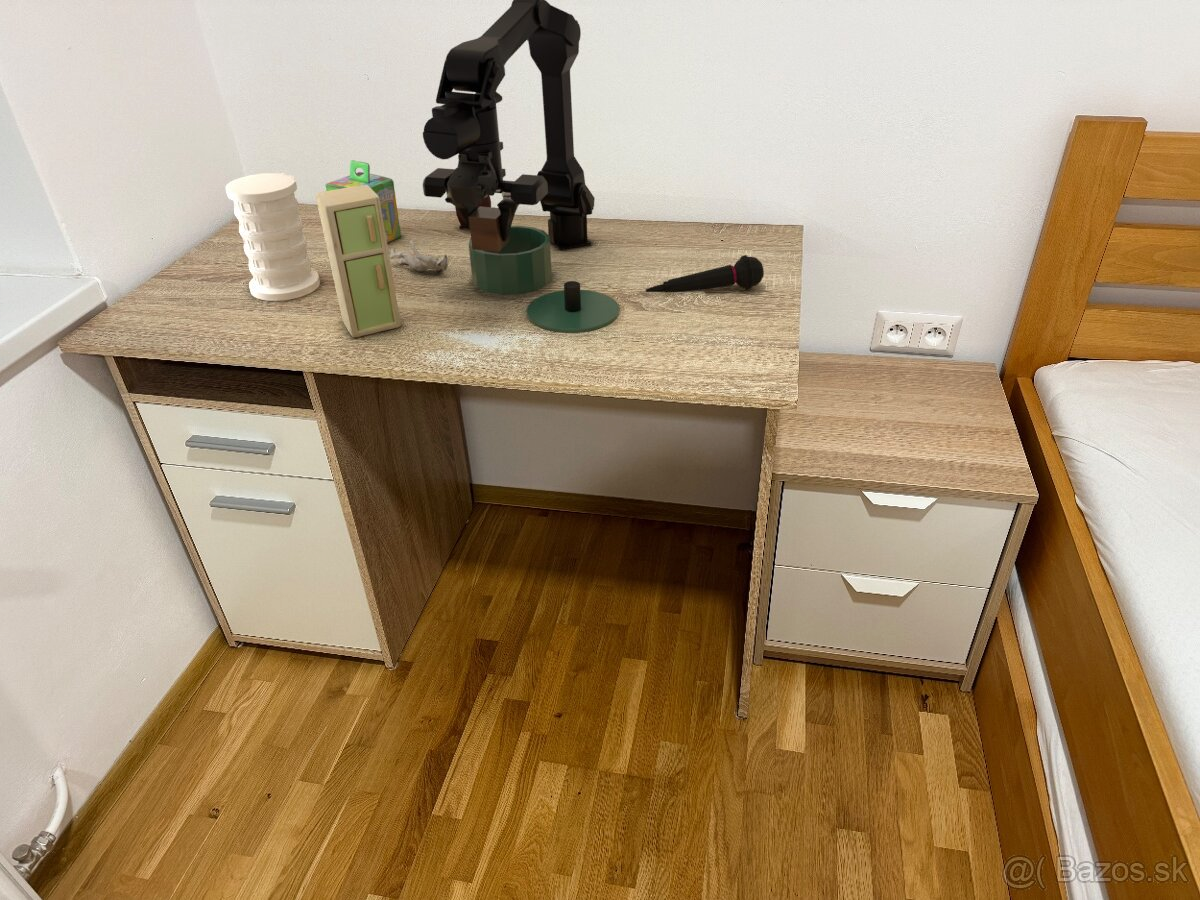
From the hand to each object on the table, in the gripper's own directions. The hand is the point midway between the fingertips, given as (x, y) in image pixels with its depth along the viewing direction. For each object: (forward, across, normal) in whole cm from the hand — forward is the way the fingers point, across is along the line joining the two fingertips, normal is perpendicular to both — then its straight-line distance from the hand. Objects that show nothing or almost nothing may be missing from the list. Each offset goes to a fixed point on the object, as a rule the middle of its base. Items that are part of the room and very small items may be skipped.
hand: (490, 239), depth 138 cm
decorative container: (+10, -38, -5) cm, 39 cm away
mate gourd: (+11, -16, +30) cm, 36 cm away
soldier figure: (+11, -18, +8) cm, 22 cm away
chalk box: (+11, -34, +18) cm, 40 cm away
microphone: (+11, +33, +13) cm, 37 cm away
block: (+1, 0, 0) cm, 1 cm away
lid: (+10, +14, -3) cm, 18 cm away
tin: (+11, 0, +7) cm, 13 cm away
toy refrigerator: (+10, -15, -14) cm, 23 cm away
